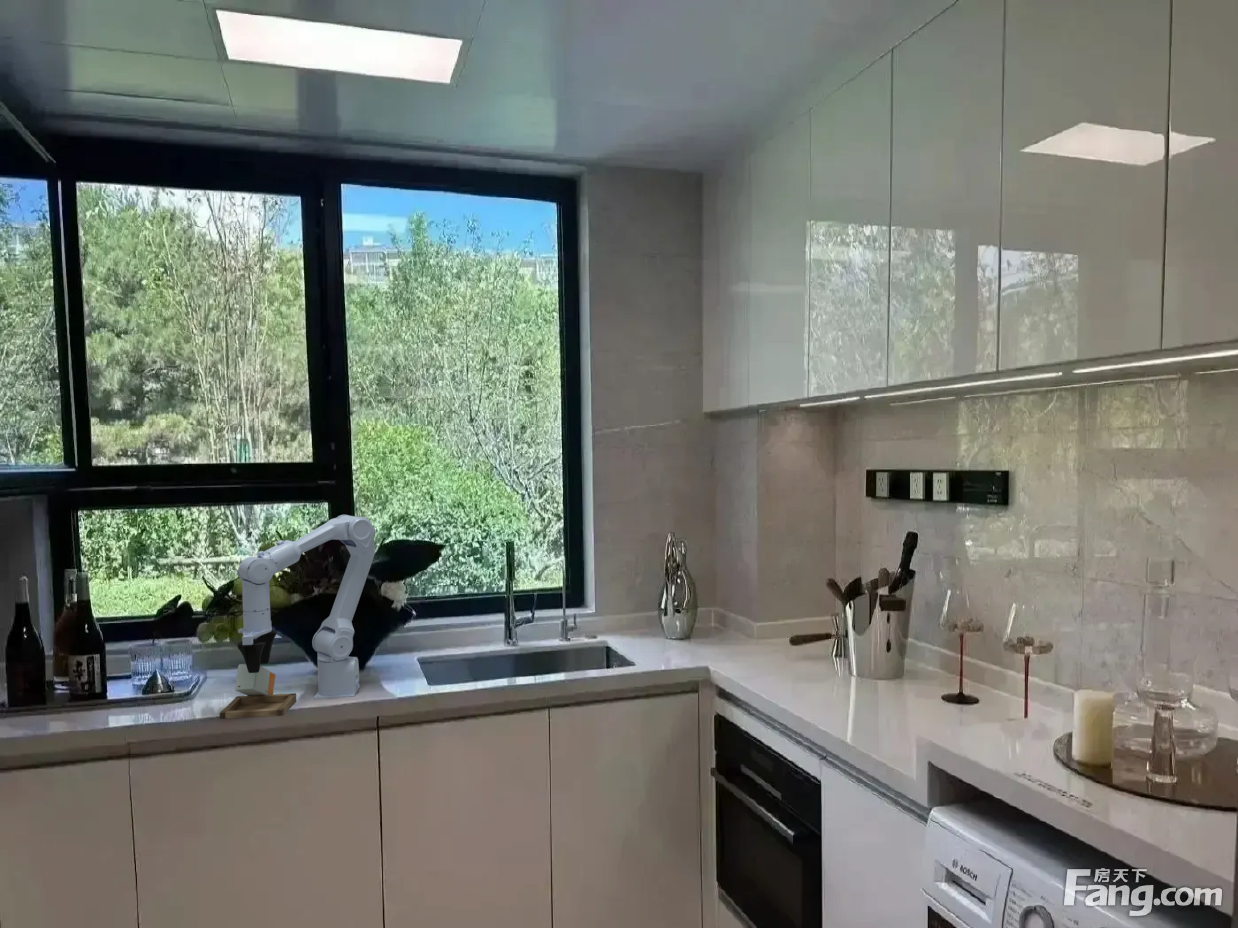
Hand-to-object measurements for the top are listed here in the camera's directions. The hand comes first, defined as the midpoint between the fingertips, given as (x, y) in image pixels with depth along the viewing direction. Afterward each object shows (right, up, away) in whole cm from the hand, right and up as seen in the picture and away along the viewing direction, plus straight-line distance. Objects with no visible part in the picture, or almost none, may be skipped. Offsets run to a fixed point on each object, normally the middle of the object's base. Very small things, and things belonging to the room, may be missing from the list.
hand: (258, 667), depth 188 cm
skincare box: (-3, -7, +11) cm, 14 cm away
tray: (0, -10, 0) cm, 10 cm away
